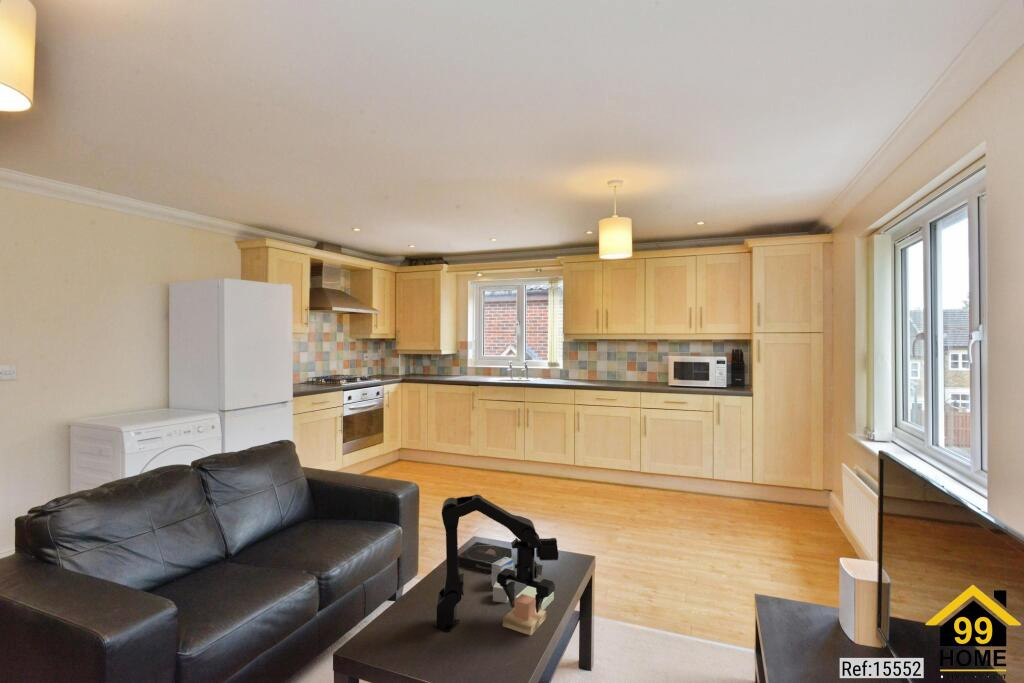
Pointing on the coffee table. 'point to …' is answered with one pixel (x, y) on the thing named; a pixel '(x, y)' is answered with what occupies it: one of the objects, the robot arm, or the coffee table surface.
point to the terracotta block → (524, 607)
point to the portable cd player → (482, 556)
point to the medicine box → (501, 567)
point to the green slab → (532, 592)
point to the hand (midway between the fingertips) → (524, 608)
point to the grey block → (499, 593)
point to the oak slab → (524, 622)
